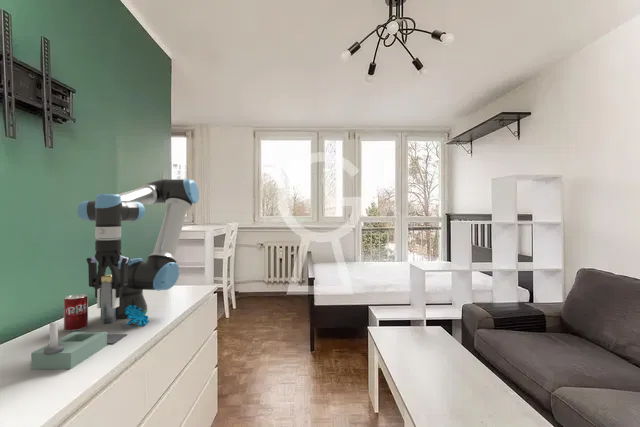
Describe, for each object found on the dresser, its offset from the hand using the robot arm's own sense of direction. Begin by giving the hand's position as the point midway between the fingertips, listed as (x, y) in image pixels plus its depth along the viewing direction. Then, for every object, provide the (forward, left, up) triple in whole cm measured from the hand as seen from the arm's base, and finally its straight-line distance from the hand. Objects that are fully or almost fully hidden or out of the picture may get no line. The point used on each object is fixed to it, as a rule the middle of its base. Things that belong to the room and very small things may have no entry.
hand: (108, 307), depth 113 cm
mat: (0, 0, -11) cm, 11 cm away
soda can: (-11, -19, -11) cm, 25 cm away
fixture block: (+13, -3, -11) cm, 17 cm away
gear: (-15, +2, -12) cm, 19 cm away
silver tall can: (0, 0, -5) cm, 5 cm away
